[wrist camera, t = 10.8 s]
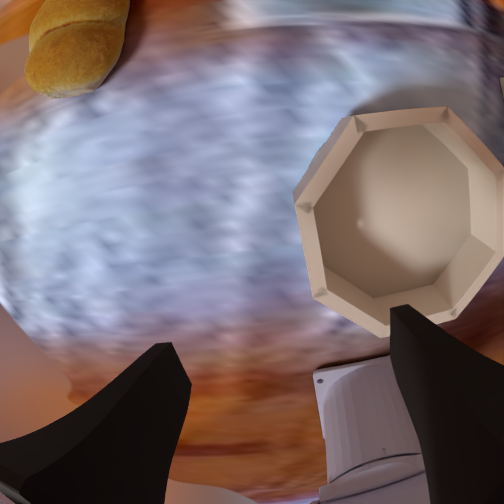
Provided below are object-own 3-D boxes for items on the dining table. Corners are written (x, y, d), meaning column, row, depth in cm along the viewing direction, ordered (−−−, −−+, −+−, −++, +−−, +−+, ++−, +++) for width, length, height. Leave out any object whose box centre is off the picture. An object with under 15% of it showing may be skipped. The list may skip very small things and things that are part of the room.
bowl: (472, 278, 19) (498, 305, 15) (316, 312, 21) (321, 349, 17) (462, 106, 15) (497, 104, 11) (278, 129, 17) (277, 129, 13)
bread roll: (141, -26, 14) (114, -49, 10) (126, 89, 17) (92, 84, 13) (50, 2, 14) (18, -9, 10) (36, 105, 18) (-1, 106, 14)
